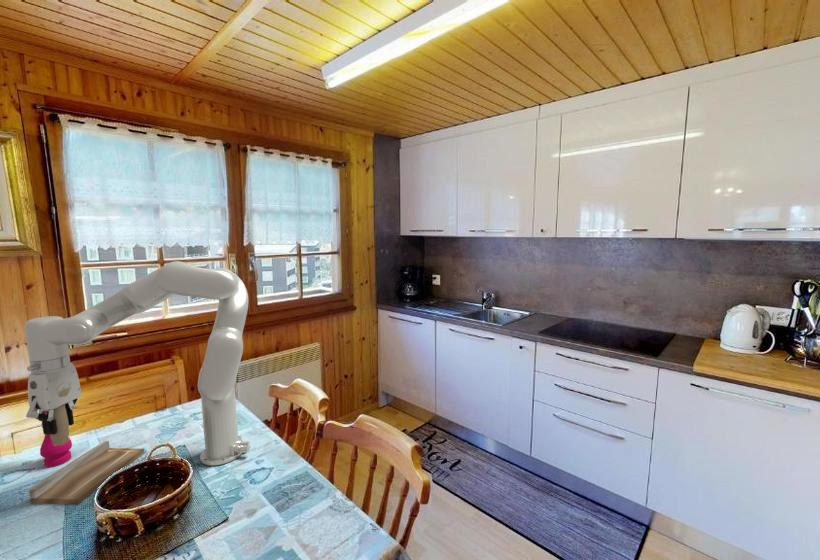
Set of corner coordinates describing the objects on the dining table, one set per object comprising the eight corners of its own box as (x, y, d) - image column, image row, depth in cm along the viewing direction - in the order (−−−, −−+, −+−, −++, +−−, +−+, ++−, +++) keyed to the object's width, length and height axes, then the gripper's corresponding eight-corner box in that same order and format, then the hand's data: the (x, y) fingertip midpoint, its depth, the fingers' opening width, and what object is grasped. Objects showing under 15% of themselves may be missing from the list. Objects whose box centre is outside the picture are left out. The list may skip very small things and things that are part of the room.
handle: (60, 449, 96) (53, 395, 95) (41, 447, 98) (33, 393, 96) (80, 439, 101) (73, 387, 99) (61, 437, 102) (54, 386, 101)
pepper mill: (36, 465, 113) (28, 403, 111) (65, 452, 120) (58, 394, 117) (49, 470, 111) (41, 407, 108) (78, 457, 117) (71, 397, 115)
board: (144, 452, 119) (143, 441, 119) (78, 504, 96) (76, 490, 96) (105, 452, 120) (104, 440, 119) (30, 503, 97) (28, 489, 96)
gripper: (30, 375, 88) (40, 447, 91) (92, 353, 105) (99, 414, 107) (0, 375, 89) (11, 446, 91) (67, 353, 105) (75, 414, 107)
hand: (59, 428), depth 99 cm, fingers closed on handle, 3 cm apart
